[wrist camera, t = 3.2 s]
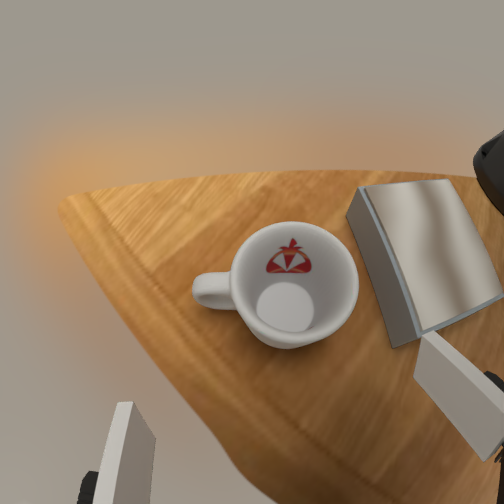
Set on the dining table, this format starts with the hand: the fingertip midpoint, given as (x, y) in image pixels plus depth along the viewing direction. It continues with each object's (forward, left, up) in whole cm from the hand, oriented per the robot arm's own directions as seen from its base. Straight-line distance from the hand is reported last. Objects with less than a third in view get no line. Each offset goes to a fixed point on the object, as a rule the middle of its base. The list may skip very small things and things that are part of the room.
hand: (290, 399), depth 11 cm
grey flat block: (-17, -8, -11) cm, 22 cm away
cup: (-1, -7, -11) cm, 13 cm away
